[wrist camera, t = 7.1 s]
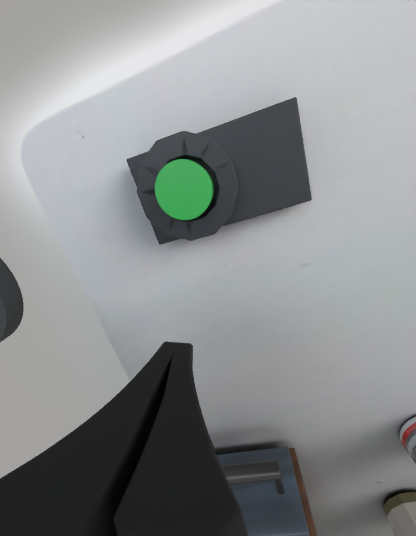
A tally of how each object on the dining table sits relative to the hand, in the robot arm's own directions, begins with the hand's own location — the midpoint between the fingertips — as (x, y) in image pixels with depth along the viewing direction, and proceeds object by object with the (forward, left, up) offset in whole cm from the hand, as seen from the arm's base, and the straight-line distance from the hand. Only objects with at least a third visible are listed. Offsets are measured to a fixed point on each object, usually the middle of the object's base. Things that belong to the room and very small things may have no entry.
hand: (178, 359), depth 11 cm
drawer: (-1, -25, -9) cm, 26 cm away
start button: (+2, +7, -6) cm, 10 cm away
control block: (+4, +7, -9) cm, 13 cm away
